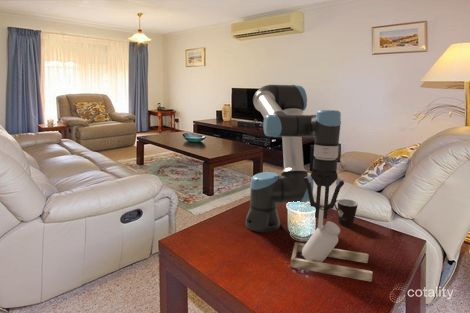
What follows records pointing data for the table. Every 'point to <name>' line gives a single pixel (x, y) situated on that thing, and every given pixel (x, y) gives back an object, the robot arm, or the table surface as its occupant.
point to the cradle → (332, 268)
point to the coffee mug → (346, 211)
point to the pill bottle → (321, 242)
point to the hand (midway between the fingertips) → (320, 227)
